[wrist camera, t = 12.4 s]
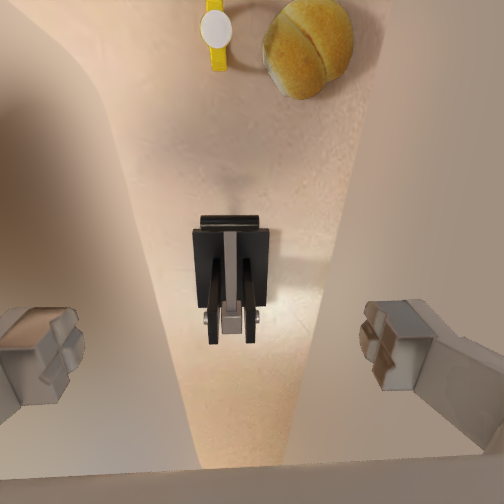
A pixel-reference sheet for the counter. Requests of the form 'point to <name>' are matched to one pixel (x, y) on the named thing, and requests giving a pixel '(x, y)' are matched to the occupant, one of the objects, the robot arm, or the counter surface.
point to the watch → (216, 33)
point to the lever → (230, 262)
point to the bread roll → (307, 46)
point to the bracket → (248, 276)
